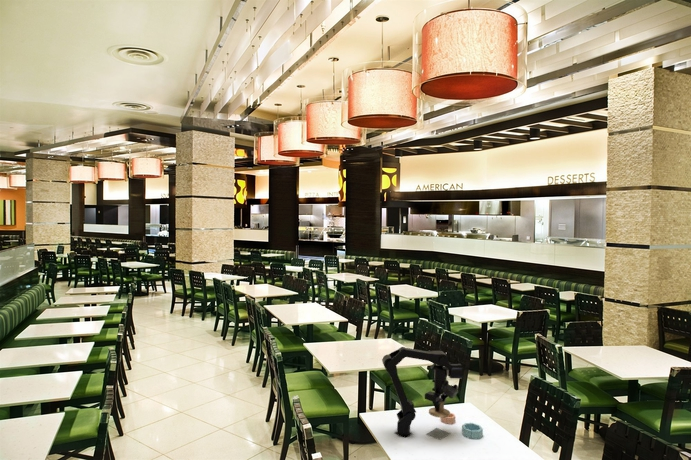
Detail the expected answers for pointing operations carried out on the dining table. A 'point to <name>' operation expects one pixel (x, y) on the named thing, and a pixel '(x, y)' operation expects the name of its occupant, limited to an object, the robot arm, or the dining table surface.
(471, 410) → the dining table surface
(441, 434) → the mat
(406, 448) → the dining table surface
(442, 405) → the lid
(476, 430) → the bowl
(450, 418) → the small bowl
